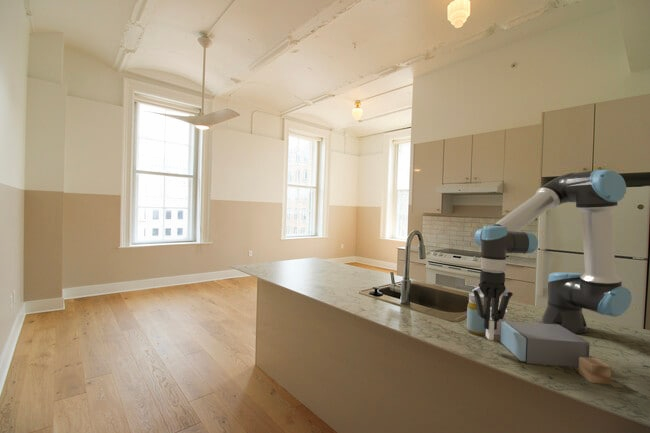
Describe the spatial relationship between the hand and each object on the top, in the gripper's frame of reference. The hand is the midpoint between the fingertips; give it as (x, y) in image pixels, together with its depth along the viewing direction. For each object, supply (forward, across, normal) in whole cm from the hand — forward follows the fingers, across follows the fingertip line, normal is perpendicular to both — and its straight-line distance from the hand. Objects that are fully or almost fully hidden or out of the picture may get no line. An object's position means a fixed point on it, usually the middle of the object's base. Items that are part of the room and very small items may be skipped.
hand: (489, 338), depth 105 cm
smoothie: (+4, -10, -16) cm, 19 cm away
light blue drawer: (+4, -16, 0) cm, 16 cm away
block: (+4, -24, +14) cm, 28 cm away
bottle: (+5, -2, -16) cm, 17 cm away
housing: (+4, -18, 0) cm, 18 cm away
